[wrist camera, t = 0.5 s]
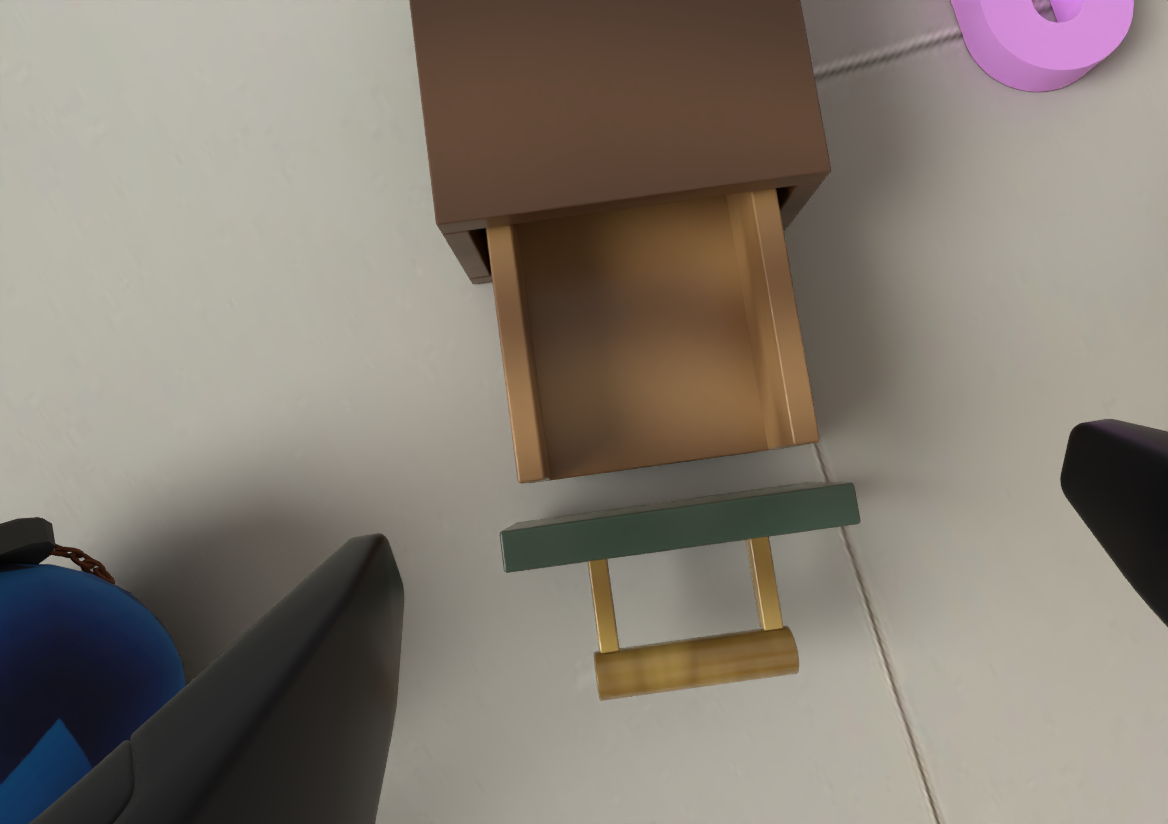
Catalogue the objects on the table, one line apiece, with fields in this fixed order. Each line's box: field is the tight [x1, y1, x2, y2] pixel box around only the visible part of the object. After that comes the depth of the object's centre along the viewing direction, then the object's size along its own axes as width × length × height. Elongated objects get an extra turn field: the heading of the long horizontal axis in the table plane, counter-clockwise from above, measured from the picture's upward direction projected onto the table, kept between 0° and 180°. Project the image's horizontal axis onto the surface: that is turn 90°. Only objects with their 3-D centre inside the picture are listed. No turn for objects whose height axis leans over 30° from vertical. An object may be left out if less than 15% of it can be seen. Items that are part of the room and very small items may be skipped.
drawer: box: [486, 188, 860, 701], centre depth 22 cm, size 17×10×4 cm, turn 8°
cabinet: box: [409, 0, 831, 284], centre depth 24 cm, size 14×12×6 cm
